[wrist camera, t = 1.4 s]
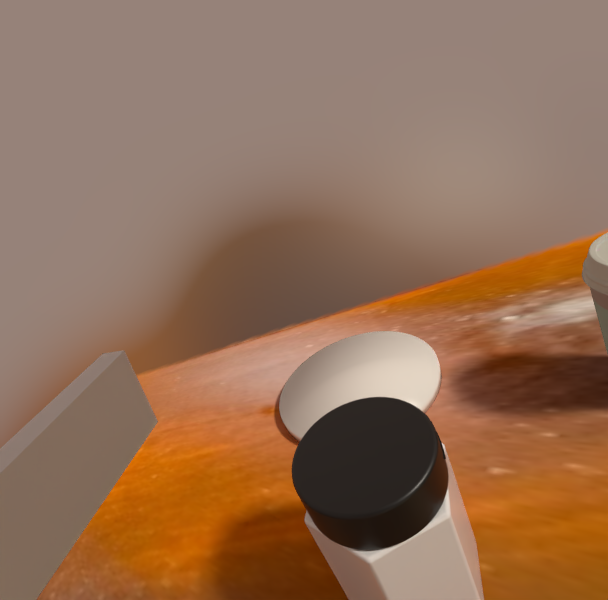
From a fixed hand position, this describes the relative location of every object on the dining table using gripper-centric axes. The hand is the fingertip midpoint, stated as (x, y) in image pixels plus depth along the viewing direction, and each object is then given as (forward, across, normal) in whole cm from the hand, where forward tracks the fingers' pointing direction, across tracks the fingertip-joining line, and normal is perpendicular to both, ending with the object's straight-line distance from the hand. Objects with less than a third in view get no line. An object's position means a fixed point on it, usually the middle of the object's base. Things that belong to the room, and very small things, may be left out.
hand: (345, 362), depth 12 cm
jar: (+8, 0, -22) cm, 24 cm away
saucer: (+29, -5, -22) cm, 36 cm away
